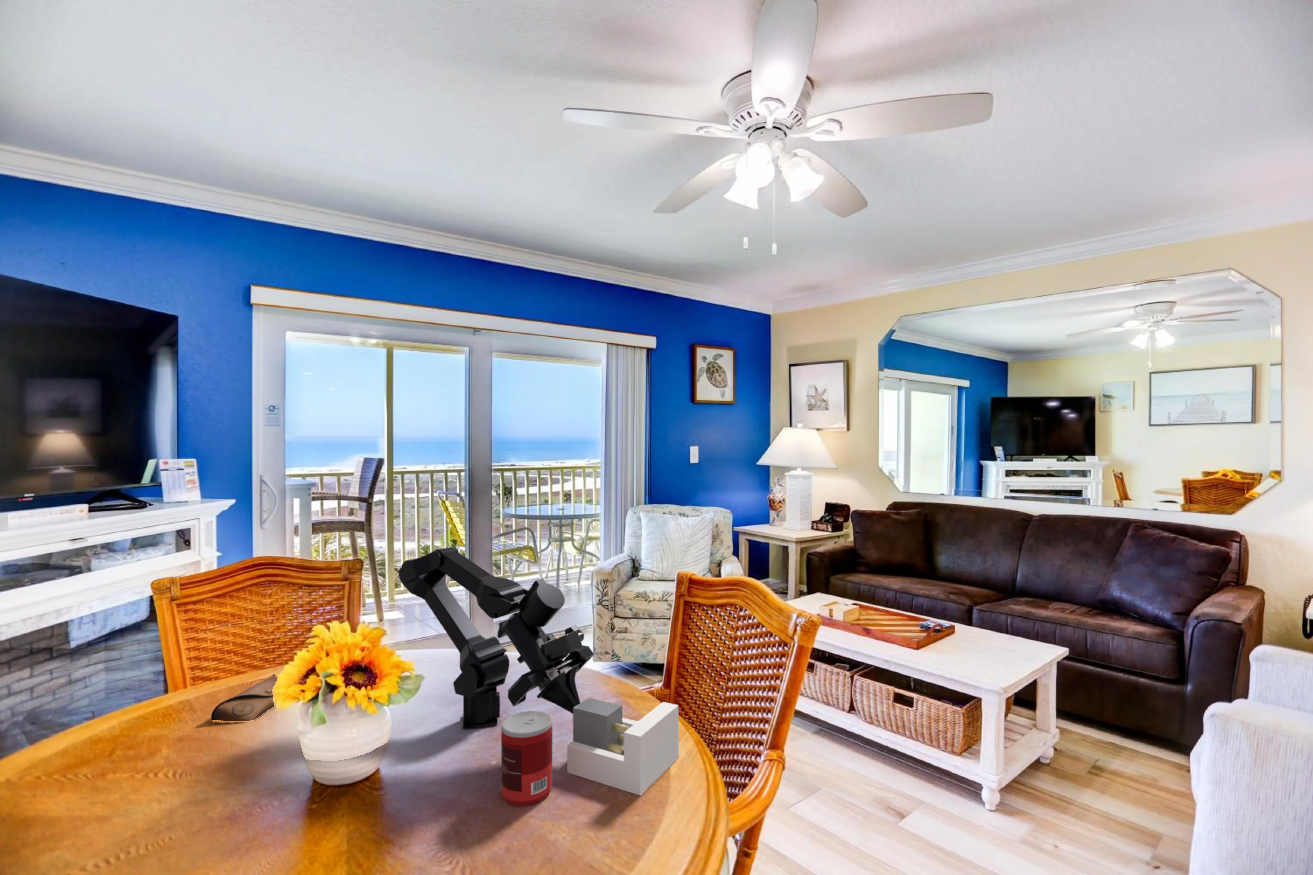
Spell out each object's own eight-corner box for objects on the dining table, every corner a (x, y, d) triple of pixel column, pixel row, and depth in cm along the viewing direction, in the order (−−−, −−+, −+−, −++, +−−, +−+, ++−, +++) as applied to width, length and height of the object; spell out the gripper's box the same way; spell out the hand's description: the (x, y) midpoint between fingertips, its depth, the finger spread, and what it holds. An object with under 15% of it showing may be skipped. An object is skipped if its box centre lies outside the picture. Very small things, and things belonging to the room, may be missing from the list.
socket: (567, 772, 100) (567, 717, 100) (610, 739, 112) (610, 689, 112) (640, 795, 94) (640, 736, 94) (678, 757, 105) (678, 705, 105)
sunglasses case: (252, 723, 118) (235, 693, 119) (222, 741, 118) (205, 711, 119) (308, 687, 136) (293, 661, 137) (281, 703, 136) (266, 677, 137)
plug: (573, 757, 105) (573, 707, 105) (589, 745, 109) (589, 697, 109) (619, 771, 100) (619, 719, 100) (634, 758, 104) (634, 708, 105)
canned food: (557, 779, 98) (557, 711, 98) (543, 808, 90) (543, 734, 90) (511, 777, 99) (511, 709, 99) (493, 806, 91) (493, 732, 91)
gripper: (520, 627, 102) (574, 707, 96) (585, 602, 118) (634, 669, 113) (485, 667, 105) (535, 746, 100) (553, 637, 122) (599, 704, 116)
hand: (579, 713), depth 107 cm, fingers closed, pressing on plug
